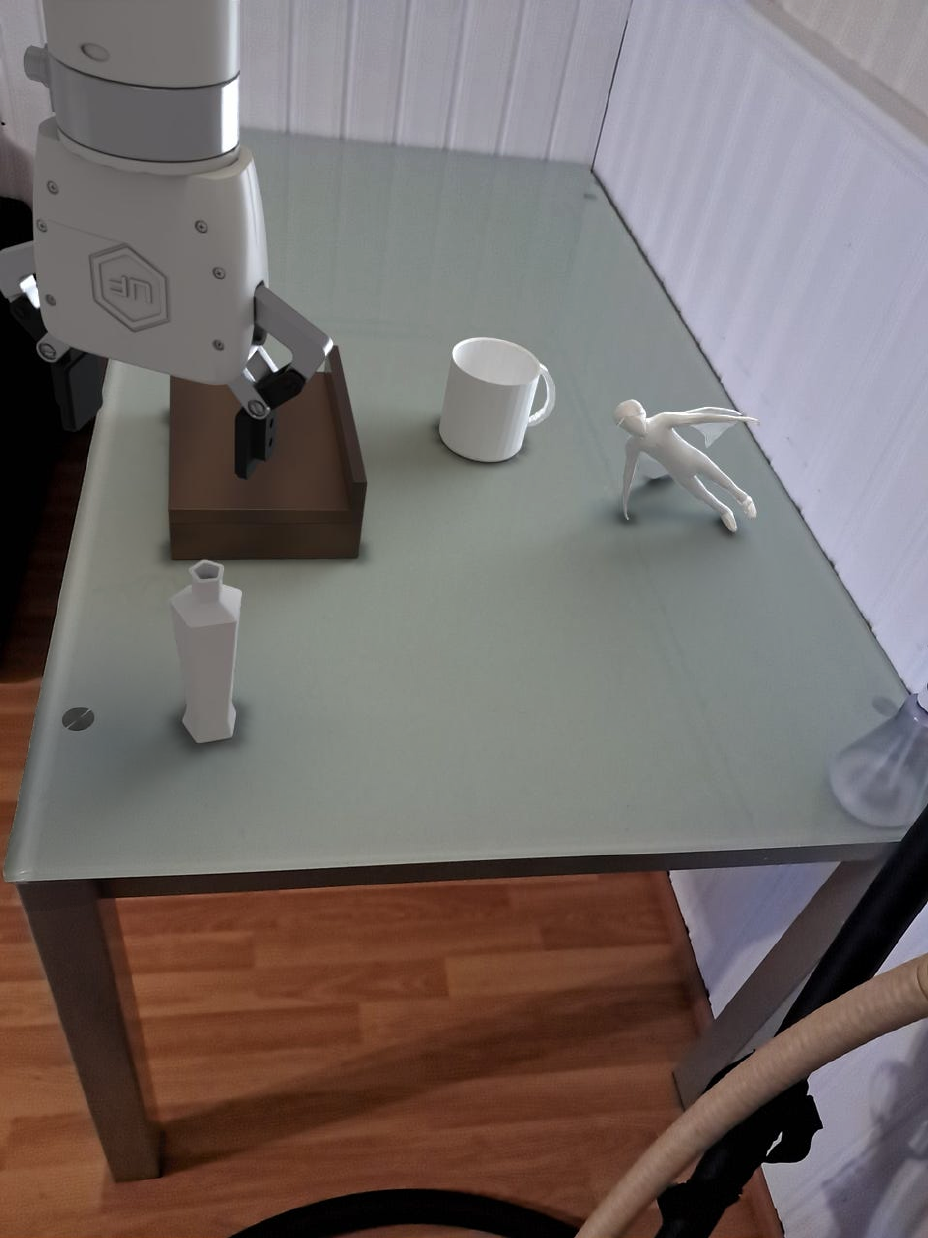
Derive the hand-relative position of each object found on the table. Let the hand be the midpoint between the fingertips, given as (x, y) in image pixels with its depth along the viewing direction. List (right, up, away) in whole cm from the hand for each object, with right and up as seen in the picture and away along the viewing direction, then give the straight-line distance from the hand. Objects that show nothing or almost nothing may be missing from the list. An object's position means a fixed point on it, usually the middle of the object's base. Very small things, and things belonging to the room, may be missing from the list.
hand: (167, 441), depth 52 cm
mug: (+19, +9, +51) cm, 55 cm away
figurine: (+36, +2, +47) cm, 59 cm away
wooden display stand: (-3, +3, +39) cm, 39 cm away
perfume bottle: (-2, -18, +18) cm, 25 cm away
